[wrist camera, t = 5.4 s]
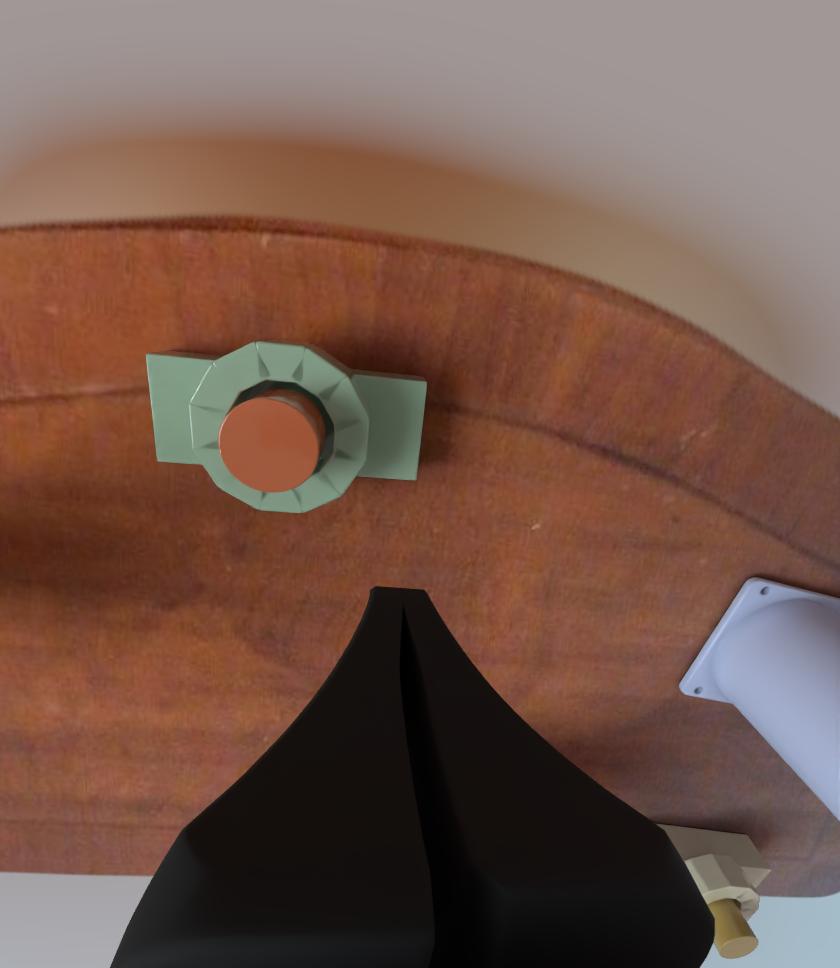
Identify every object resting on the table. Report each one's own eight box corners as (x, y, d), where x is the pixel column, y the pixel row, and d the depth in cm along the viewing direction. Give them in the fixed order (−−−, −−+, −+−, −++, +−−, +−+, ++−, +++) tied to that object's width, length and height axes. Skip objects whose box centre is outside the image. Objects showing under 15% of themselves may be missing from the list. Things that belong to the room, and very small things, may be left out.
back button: (739, 895, 28) (766, 937, 26) (720, 916, 28) (744, 960, 26) (708, 892, 27) (733, 935, 25) (689, 914, 28) (712, 958, 26)
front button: (328, 392, 15) (320, 403, 13) (325, 474, 16) (318, 496, 14) (236, 383, 14) (214, 393, 12) (240, 468, 15) (220, 490, 13)
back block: (755, 824, 31) (805, 893, 27) (717, 870, 33) (760, 940, 29) (635, 809, 29) (672, 880, 26) (602, 857, 31) (632, 931, 27)
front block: (426, 352, 17) (436, 360, 14) (411, 487, 20) (417, 521, 16) (165, 323, 16) (110, 325, 13) (178, 470, 18) (134, 503, 15)
